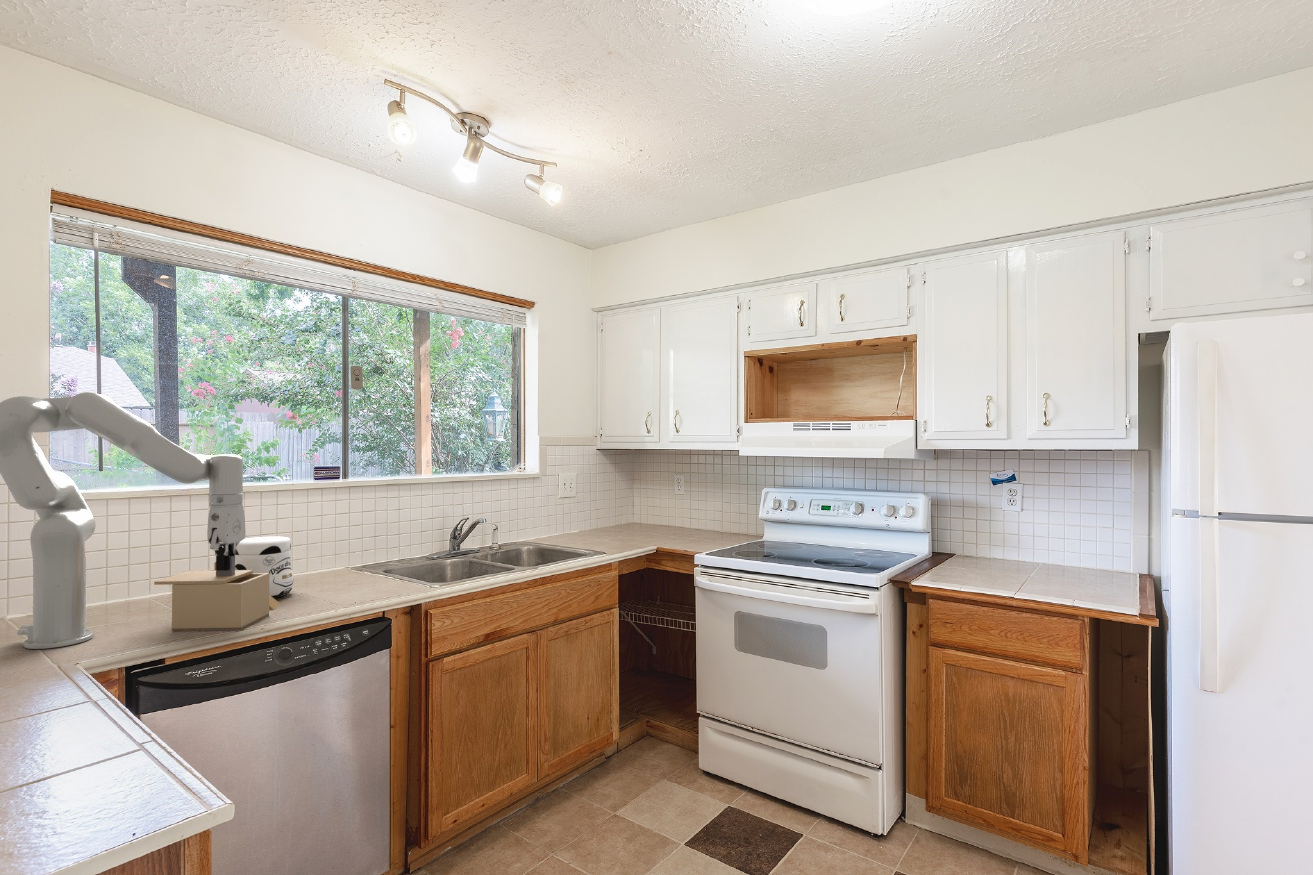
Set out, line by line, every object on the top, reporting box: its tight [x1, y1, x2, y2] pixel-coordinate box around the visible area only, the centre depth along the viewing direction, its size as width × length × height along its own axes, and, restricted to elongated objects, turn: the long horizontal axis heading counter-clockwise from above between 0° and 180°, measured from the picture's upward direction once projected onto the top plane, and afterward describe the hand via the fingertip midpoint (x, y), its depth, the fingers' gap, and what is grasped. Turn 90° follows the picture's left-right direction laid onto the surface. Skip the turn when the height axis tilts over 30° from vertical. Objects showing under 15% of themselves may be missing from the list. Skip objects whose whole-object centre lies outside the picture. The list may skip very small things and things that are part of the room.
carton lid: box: [153, 556, 253, 586], centre depth 175 cm, size 17×14×6 cm
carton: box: [171, 573, 270, 633], centre depth 175 cm, size 17×14×12 cm
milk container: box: [235, 536, 295, 599], centre depth 205 cm, size 17×17×18 cm
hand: (225, 568), depth 175 cm, fingers closed on carton lid
